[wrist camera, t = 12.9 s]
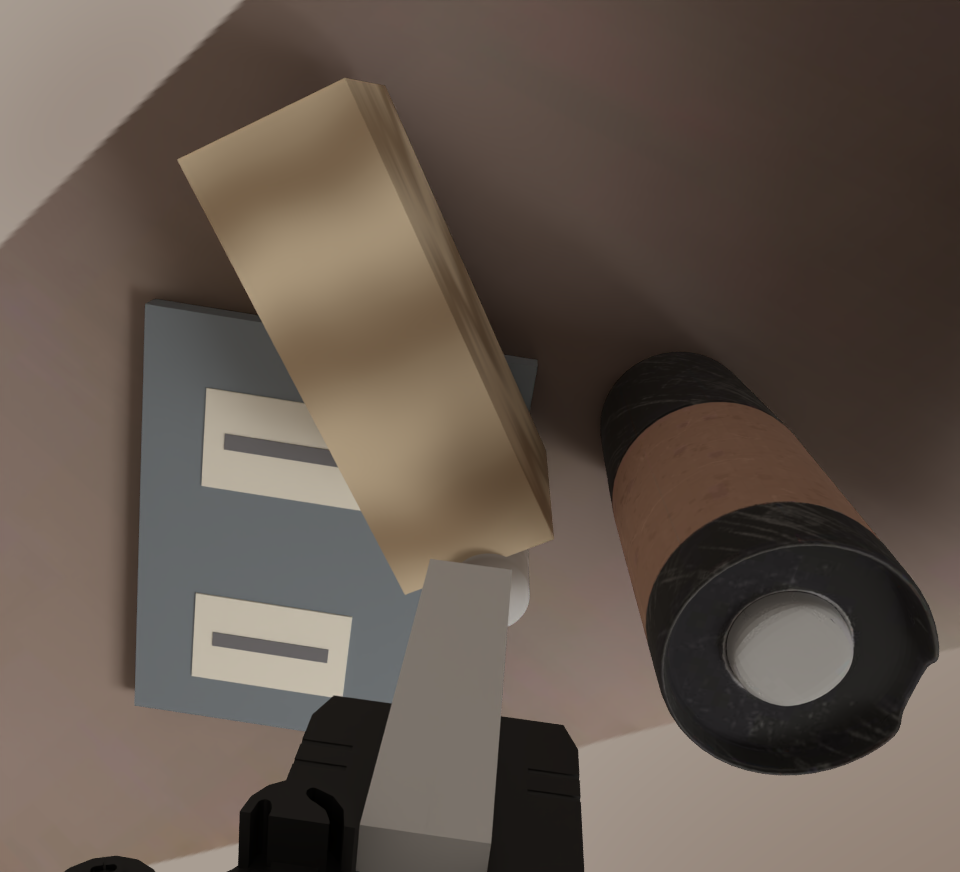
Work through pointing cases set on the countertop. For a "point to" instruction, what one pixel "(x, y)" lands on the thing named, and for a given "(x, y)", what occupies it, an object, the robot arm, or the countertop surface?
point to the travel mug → (756, 576)
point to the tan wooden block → (381, 330)
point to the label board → (253, 536)
